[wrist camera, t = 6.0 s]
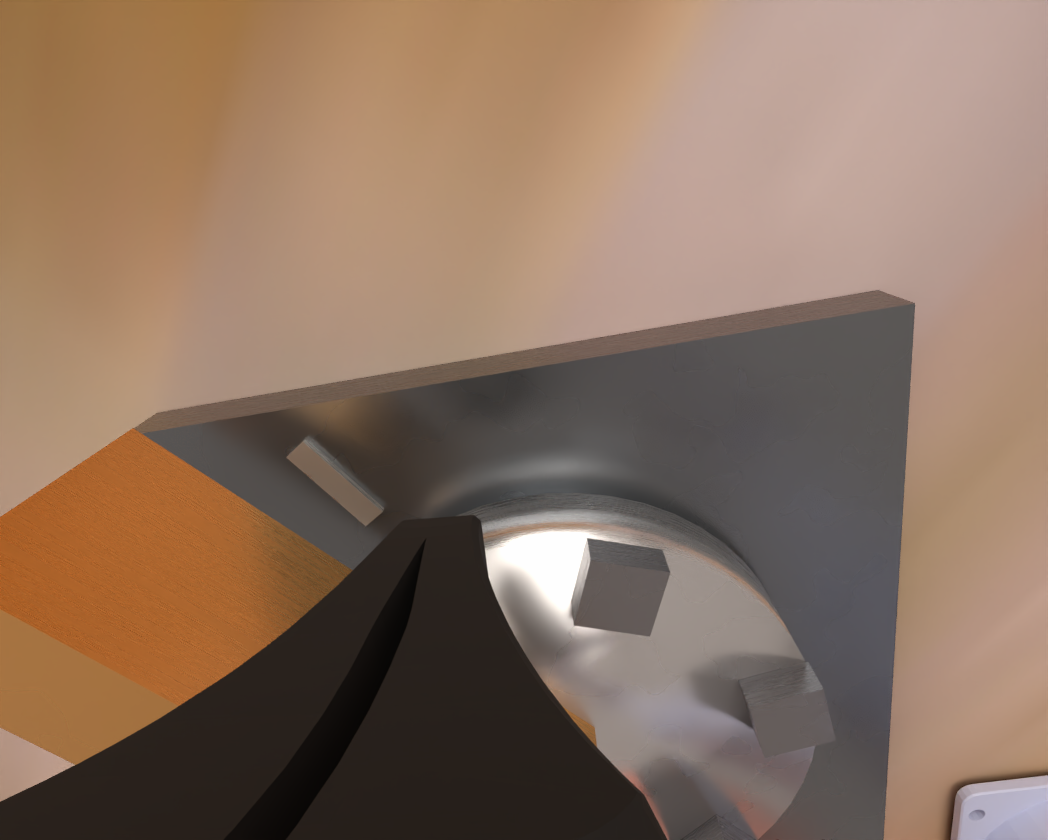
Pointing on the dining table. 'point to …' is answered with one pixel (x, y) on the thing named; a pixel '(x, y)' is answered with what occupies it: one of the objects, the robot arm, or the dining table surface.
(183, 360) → the dining table surface
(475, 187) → the dining table surface
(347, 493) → the base plate
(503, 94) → the dining table surface
